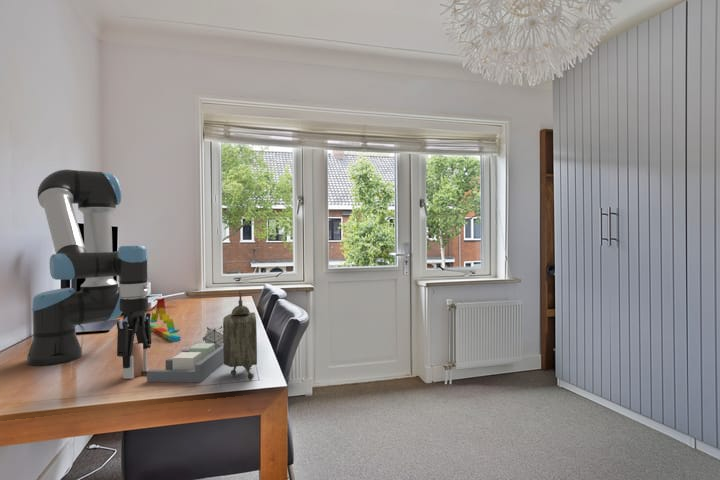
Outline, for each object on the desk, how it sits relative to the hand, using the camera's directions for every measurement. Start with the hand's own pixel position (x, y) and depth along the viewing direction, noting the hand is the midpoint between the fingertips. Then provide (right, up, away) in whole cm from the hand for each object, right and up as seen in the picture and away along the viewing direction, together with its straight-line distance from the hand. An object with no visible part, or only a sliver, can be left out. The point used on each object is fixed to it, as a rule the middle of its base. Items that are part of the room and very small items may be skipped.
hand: (135, 373), depth 127 cm
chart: (-15, 0, +51) cm, 53 cm away
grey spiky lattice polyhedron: (+14, 0, +28) cm, 31 cm away
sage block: (+16, 0, +10) cm, 19 cm away
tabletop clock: (+32, 0, -1) cm, 32 cm away
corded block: (+8, 0, 0) cm, 8 cm away
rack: (+14, 0, +5) cm, 15 cm away
